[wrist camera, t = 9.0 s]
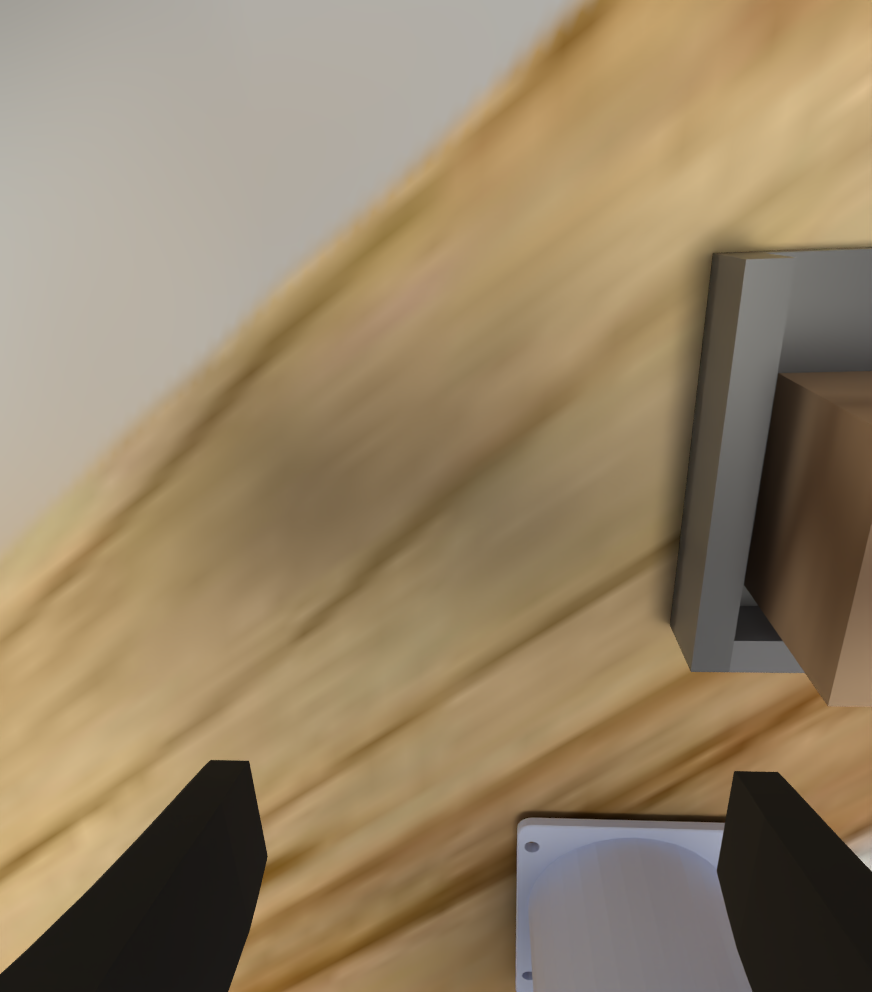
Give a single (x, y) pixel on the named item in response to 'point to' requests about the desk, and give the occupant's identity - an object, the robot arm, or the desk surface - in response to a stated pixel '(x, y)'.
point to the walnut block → (819, 530)
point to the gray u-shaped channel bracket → (754, 431)
